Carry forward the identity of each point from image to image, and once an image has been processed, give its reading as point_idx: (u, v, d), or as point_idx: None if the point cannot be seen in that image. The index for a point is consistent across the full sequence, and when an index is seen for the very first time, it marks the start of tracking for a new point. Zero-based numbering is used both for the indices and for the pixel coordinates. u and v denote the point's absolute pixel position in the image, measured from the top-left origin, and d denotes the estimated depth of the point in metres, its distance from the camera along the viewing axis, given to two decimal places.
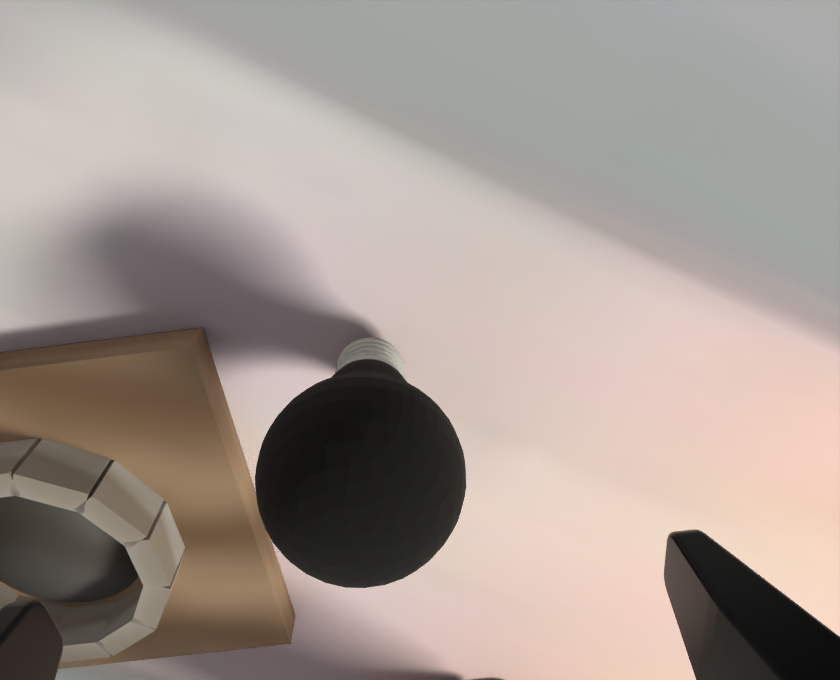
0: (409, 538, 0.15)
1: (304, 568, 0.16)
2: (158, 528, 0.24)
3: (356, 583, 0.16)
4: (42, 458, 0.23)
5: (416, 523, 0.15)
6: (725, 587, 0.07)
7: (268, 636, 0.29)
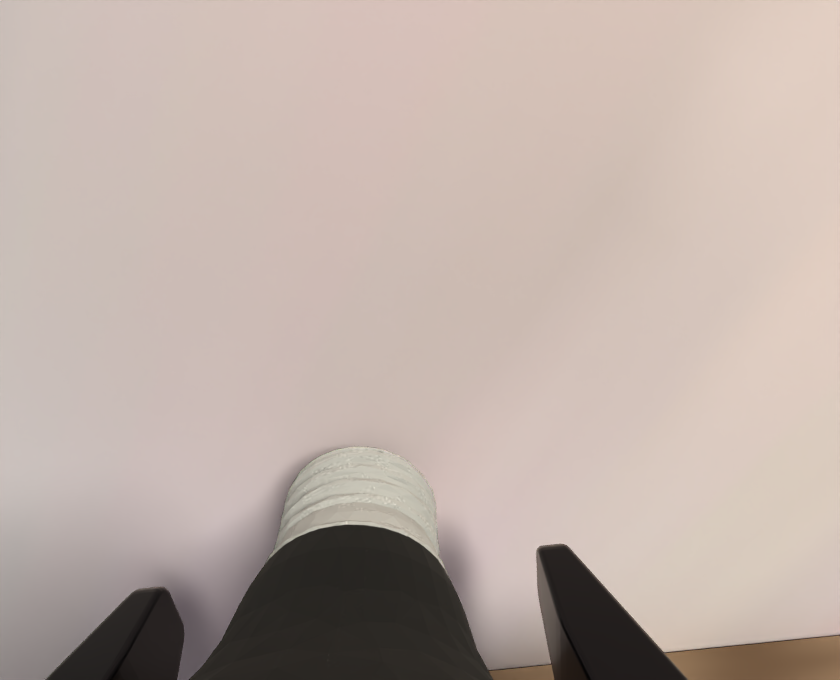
0: None
1: None
2: None
3: None
4: None
5: None
6: (571, 603, 0.07)
7: None
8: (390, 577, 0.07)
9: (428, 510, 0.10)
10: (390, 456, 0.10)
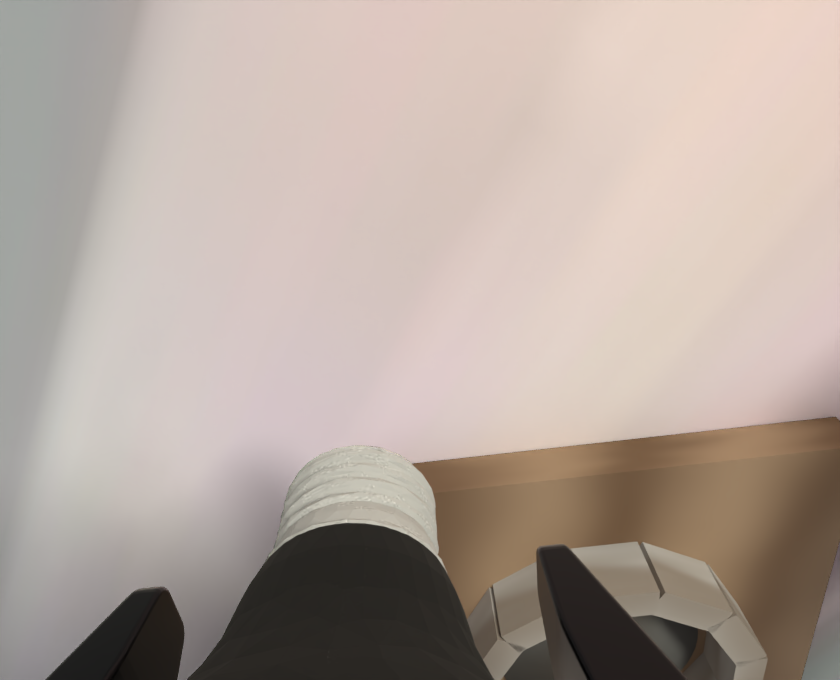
0: None
1: None
2: None
3: None
4: None
5: None
6: (571, 603, 0.07)
7: (838, 471, 0.19)
8: (390, 575, 0.07)
9: (427, 509, 0.10)
10: (390, 455, 0.10)
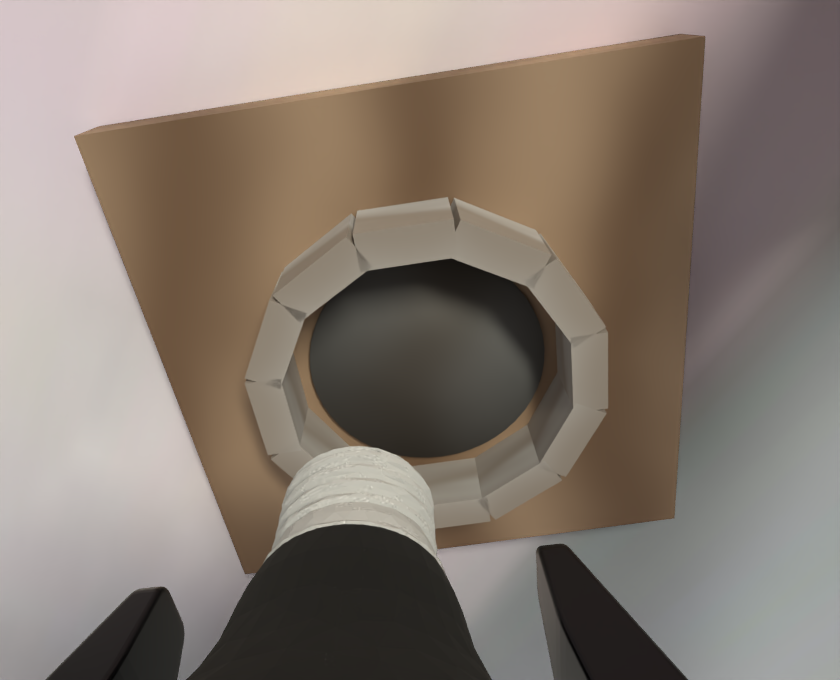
0: None
1: None
2: (363, 222, 0.16)
3: None
4: None
5: None
6: (571, 603, 0.07)
7: (676, 79, 0.16)
8: (388, 576, 0.07)
9: (426, 509, 0.10)
10: (388, 456, 0.10)
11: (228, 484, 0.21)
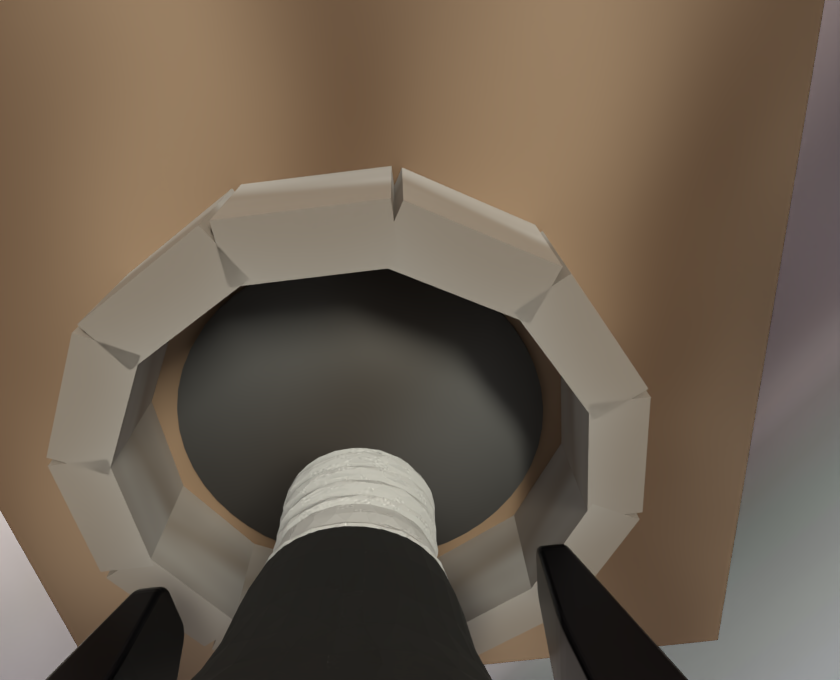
0: None
1: None
2: (239, 202, 0.09)
3: None
4: None
5: None
6: (571, 603, 0.07)
7: None
8: (389, 578, 0.07)
9: (427, 511, 0.10)
10: (389, 457, 0.10)
11: (72, 589, 0.15)
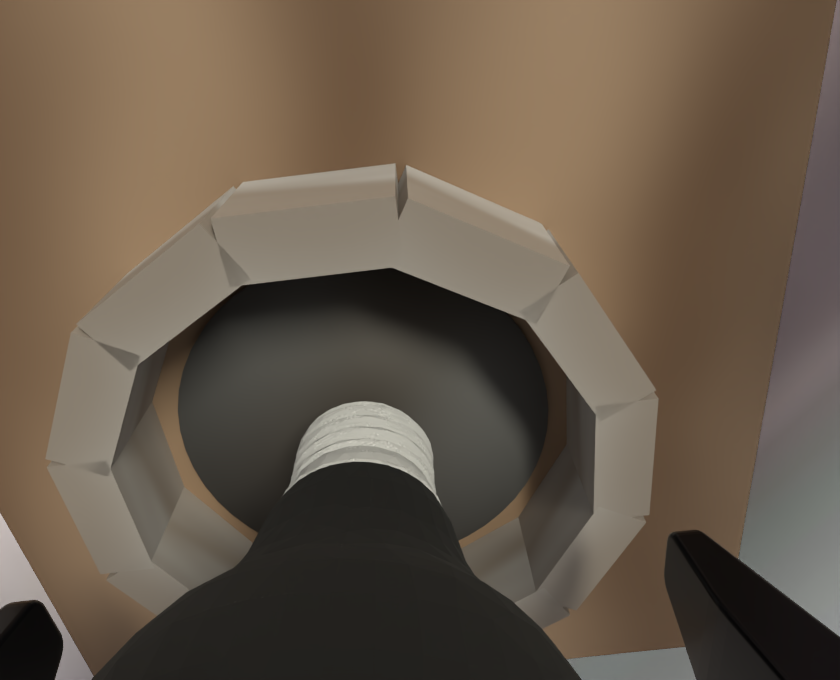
0: None
1: None
2: (240, 200, 0.09)
3: None
4: None
5: None
6: (725, 587, 0.07)
7: None
8: (392, 500, 0.08)
9: (426, 456, 0.11)
10: (392, 409, 0.11)
11: (72, 591, 0.14)
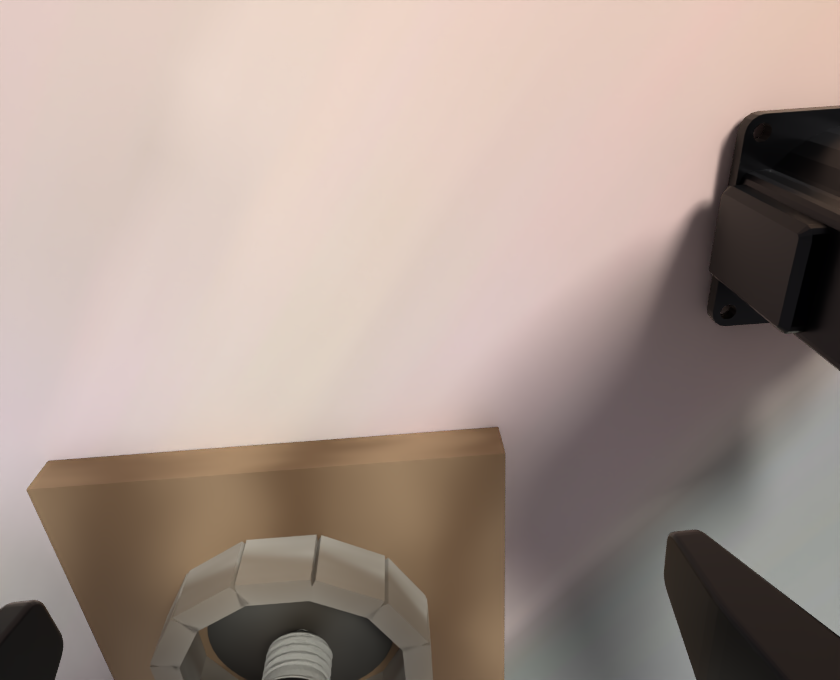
0: None
1: None
2: (246, 565, 0.21)
3: None
4: (162, 630, 0.23)
5: None
6: (725, 587, 0.07)
7: (486, 475, 0.21)
8: None
9: (326, 663, 0.23)
10: (312, 638, 0.23)
11: None
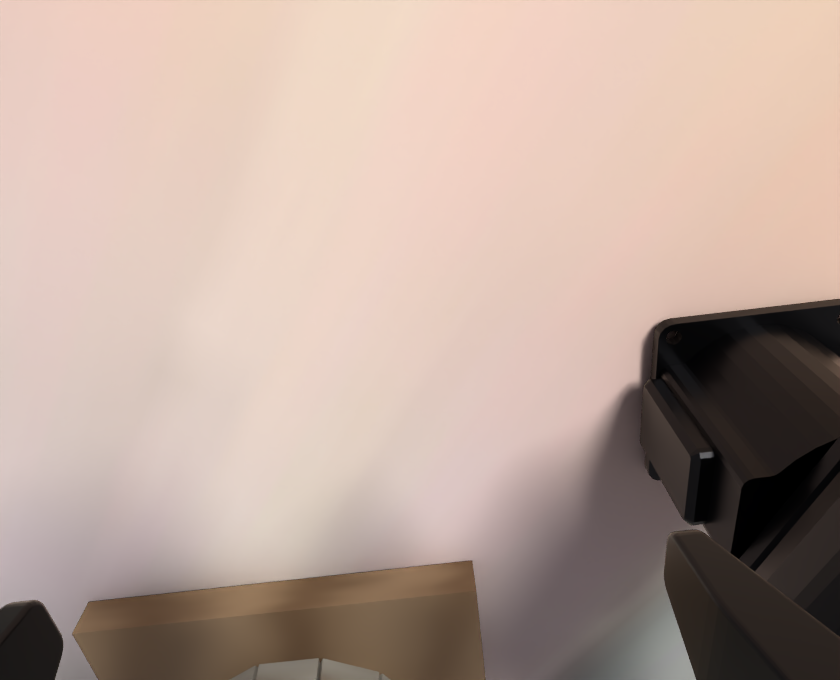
0: None
1: None
2: None
3: None
4: None
5: None
6: (725, 587, 0.07)
7: (461, 608, 0.25)
8: None
9: None
10: None
11: None
